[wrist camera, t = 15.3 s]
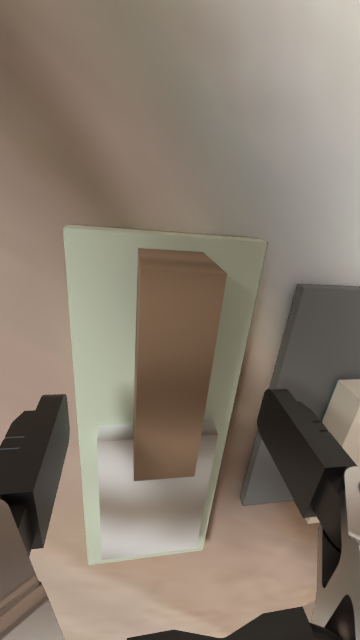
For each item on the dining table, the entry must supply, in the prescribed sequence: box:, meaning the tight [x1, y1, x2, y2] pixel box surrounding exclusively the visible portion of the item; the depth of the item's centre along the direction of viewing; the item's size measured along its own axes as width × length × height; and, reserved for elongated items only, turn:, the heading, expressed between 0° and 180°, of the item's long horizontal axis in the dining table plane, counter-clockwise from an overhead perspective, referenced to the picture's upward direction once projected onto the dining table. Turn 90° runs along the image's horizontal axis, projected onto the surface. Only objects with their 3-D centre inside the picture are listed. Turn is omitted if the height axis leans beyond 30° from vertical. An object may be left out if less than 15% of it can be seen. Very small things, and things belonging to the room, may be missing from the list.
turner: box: [97, 248, 227, 560], centre depth 14 cm, size 19×6×3 cm, turn 175°
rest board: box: [63, 225, 268, 565], centre depth 16 cm, size 8×22×1 cm, turn 175°
